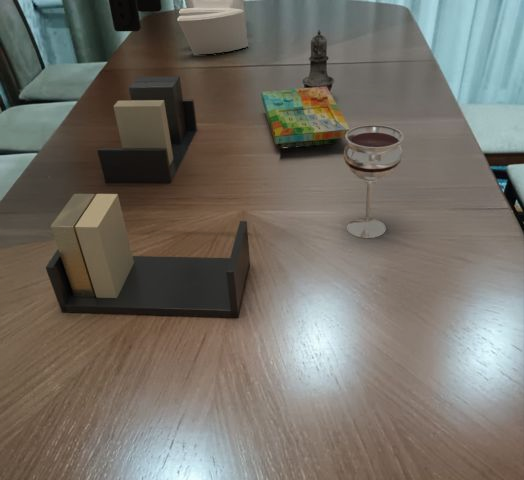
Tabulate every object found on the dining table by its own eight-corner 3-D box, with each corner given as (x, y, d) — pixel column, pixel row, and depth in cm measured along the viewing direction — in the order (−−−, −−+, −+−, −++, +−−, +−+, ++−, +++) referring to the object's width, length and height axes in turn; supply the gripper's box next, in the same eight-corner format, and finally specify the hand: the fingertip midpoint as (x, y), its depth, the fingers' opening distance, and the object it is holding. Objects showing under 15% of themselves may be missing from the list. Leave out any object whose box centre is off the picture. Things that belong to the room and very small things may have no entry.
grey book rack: (172, 189, 84) (160, 121, 78) (106, 189, 85) (90, 121, 79) (198, 135, 99) (190, 73, 92) (142, 135, 100) (130, 74, 93)
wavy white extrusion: (247, 58, 129) (244, 5, 122) (175, 62, 130) (168, 9, 123) (249, 20, 155) (247, -26, 148) (189, 23, 156) (183, -23, 149)
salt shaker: (296, 102, 108) (295, 31, 100) (314, 92, 111) (315, 23, 103) (321, 108, 105) (322, 36, 97) (339, 98, 108) (342, 28, 100)
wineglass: (398, 219, 75) (410, 128, 67) (385, 246, 70) (395, 151, 62) (349, 211, 77) (354, 121, 69) (332, 236, 73) (336, 143, 65)
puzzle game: (326, 81, 102) (351, 123, 87) (325, 108, 105) (349, 153, 90) (261, 86, 101) (274, 130, 87) (262, 113, 105) (275, 160, 90)
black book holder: (61, 312, 64) (32, 234, 57) (90, 261, 71) (68, 186, 64) (238, 318, 62) (230, 237, 55) (250, 265, 69) (244, 188, 62)
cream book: (170, 165, 88) (160, 105, 82) (126, 165, 89) (113, 106, 83) (173, 159, 90) (164, 99, 84) (130, 159, 91) (117, 100, 84)
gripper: (102, -161, 68) (130, 4, 79) (43, -156, 55) (87, 39, 67) (164, -164, 67) (183, 4, 78) (118, -160, 54) (149, 39, 66)
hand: (139, 20), depth 73 cm, fingers open, 9 cm apart
